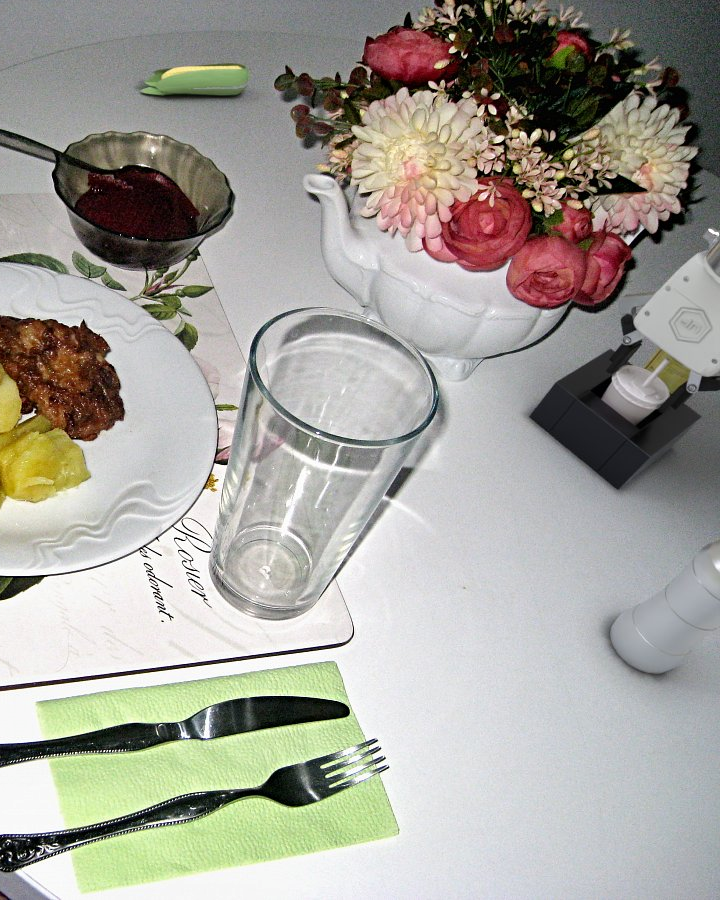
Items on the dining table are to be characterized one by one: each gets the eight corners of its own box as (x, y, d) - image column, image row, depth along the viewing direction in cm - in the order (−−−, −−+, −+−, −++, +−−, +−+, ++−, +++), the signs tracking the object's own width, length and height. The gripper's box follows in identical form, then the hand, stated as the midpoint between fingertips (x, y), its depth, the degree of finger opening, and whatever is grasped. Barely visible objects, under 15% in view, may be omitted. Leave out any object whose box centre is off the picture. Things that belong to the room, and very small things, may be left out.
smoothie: (569, 445, 109) (640, 363, 98) (569, 412, 113) (638, 329, 103) (621, 465, 108) (698, 384, 98) (619, 431, 112) (693, 350, 102)
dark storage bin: (664, 454, 111) (702, 416, 106) (613, 495, 105) (650, 456, 99) (578, 387, 117) (610, 348, 112) (524, 421, 110) (555, 382, 105)
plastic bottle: (598, 614, 92) (733, 496, 77) (662, 636, 92) (810, 523, 77) (603, 667, 88) (747, 553, 73) (670, 691, 88) (828, 582, 73)
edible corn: (251, 99, 152) (259, 73, 148) (145, 102, 144) (151, 75, 141) (237, 83, 155) (245, 58, 151) (133, 85, 147) (138, 59, 144)
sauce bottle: (670, 427, 115) (784, 309, 100) (623, 410, 115) (730, 290, 101) (666, 395, 119) (774, 277, 105) (620, 378, 120) (722, 259, 105)
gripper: (657, 226, 93) (561, 351, 106) (814, 328, 85) (689, 450, 98) (690, 209, 96) (593, 333, 110) (842, 306, 89) (719, 426, 102)
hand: (640, 387), depth 104 cm, fingers closed on smoothie, 6 cm apart
